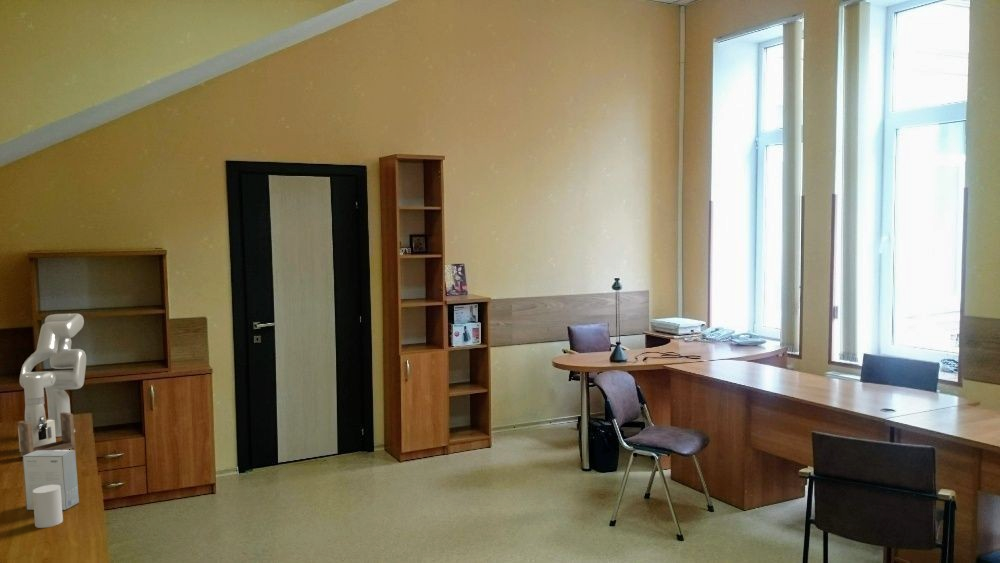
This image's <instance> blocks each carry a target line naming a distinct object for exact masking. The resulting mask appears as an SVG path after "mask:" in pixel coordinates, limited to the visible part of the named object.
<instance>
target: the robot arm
mask: <svg viewBox="0 0 1000 563" xmlns="http://www.w3.org/2000/svg"><path fill="white" fill-rule="evenodd" d="M84 324H85V320H84V316H83V315H82V314H80V313H55V314H50V315H47V316H46V317H45V319H44V323H42V325H41V328H40V331H39V336H38V341H37V346H36V350H35V351H34V352H33V353H31V354H30V356H28V357H27V358H26V360H25V361H24V363H23V364H22V366H21V370H20V374H19V385H20V386H21V387H22V388H23V389H24V390H23V392H24V404H25V405H24V422H28V423H32V427H38V430H39V432H38V437H39V440H43V439H46V438H47V437H46V430H47V429H46V428H47V421H46V420H55V434H56V438H58V437H59V438H60V437H62V433H61V418H60V413H62V412H65V413H70V414H72V413H71V403H70V402H71V401H70V396H69V394H68V393H67V390H78V389H81V388H82V387H84V383H85V376H86V368H87V355H86V352H85V351H84V350H83V349H81V348H72V339H71V338H74V337H75V336H77V334H78V333H79V332H80V331H81V330H82V329H83V327H84ZM48 359H49V366H50V367H51V368H52V369H55V370H51V371H47V370H45V371H44V370H43V371H32V370H33V369H34V368H35V366H37V365H38V364H39V363H41V362H43V361H47V360H48ZM57 369H63V370H57ZM66 369H67V370H66ZM45 394H46V403H47V405H46V406H47V413H48V414H47V415H48V418H47V419H46V410H45V409H46V408H45ZM40 427H41V428H40ZM75 433H76V429H75V428H74V434H75Z"/></svg>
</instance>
